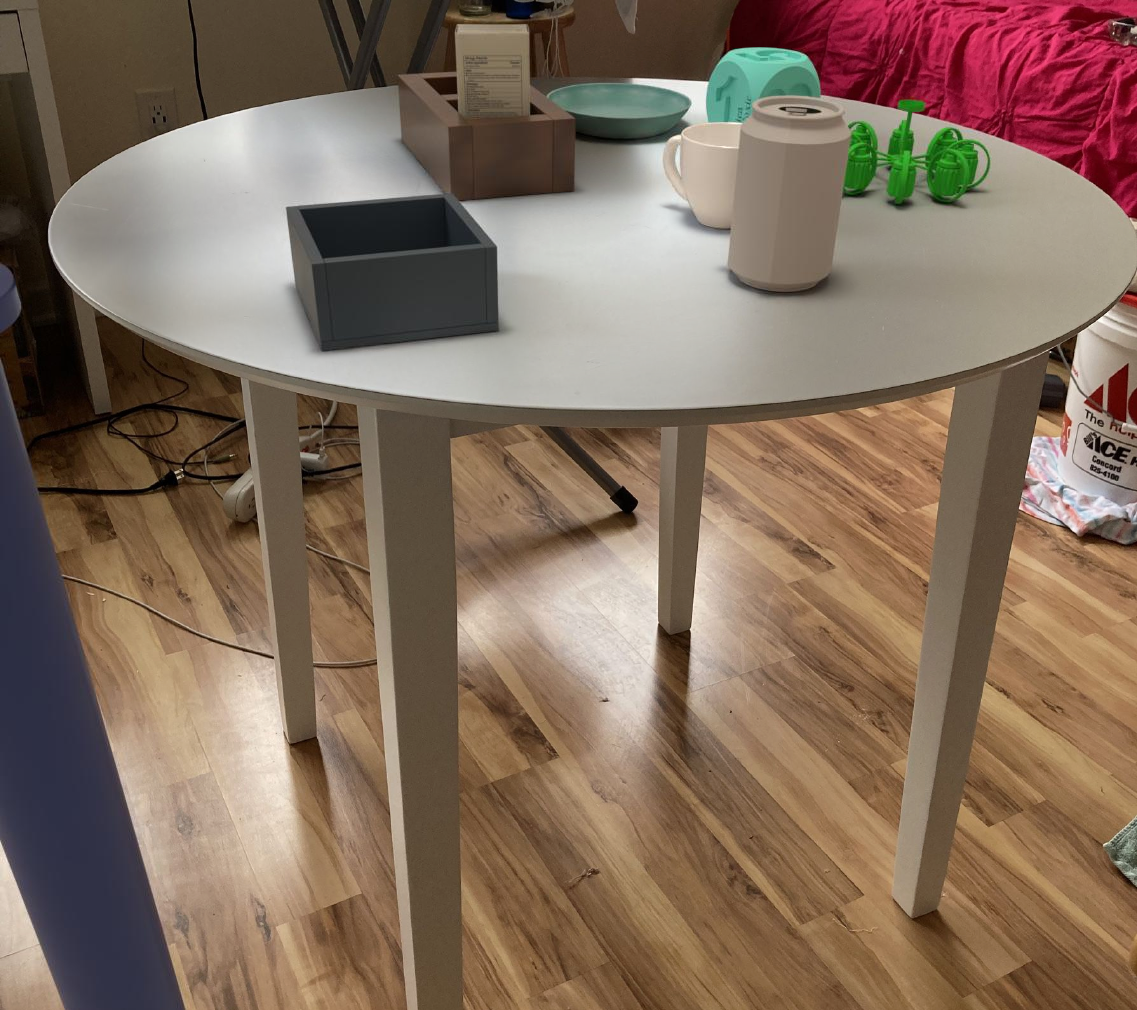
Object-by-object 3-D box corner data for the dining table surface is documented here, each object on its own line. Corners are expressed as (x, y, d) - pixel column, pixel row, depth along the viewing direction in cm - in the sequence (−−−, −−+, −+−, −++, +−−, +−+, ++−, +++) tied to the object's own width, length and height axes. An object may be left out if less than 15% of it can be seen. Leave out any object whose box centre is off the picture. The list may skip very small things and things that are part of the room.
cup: (736, 242, 92) (745, 153, 88) (634, 215, 97) (638, 129, 93) (788, 219, 97) (798, 133, 93) (688, 194, 102) (694, 112, 98)
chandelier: (896, 153, 114) (910, 76, 110) (1020, 194, 104) (1040, 111, 100) (778, 175, 107) (787, 94, 103) (898, 221, 97) (914, 133, 93)
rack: (451, 201, 100) (448, 126, 96) (401, 140, 115) (397, 74, 111) (574, 191, 102) (575, 118, 99) (510, 133, 118) (509, 68, 114)
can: (835, 266, 88) (861, 95, 81) (821, 302, 82) (848, 121, 75) (736, 254, 90) (753, 86, 83) (716, 288, 84) (733, 110, 77)
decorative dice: (701, 138, 117) (708, 51, 113) (766, 129, 121) (776, 44, 116) (748, 158, 112) (757, 67, 107) (815, 148, 115) (827, 60, 110)
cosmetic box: (529, 171, 107) (531, 23, 100) (531, 185, 104) (533, 32, 96) (458, 170, 107) (455, 20, 100) (457, 183, 103) (454, 30, 96)
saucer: (581, 150, 113) (582, 121, 111) (524, 115, 124) (524, 88, 122) (716, 137, 118) (718, 109, 116) (649, 104, 129) (650, 77, 127)
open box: (321, 351, 74) (311, 264, 71) (295, 286, 83) (285, 206, 80) (498, 330, 77) (497, 246, 74) (455, 270, 86) (452, 192, 83)
